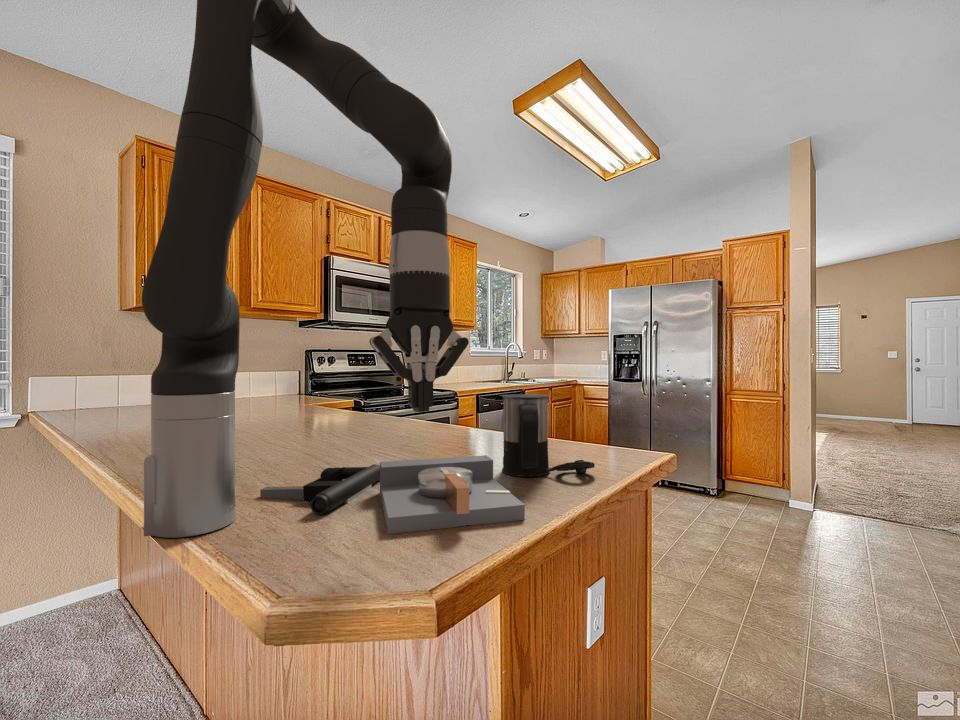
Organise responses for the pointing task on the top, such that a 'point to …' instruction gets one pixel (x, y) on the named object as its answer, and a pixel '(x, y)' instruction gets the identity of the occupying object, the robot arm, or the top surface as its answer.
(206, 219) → the robot arm
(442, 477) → the dial
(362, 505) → the top surface
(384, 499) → the panel
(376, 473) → the door handle
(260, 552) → the top surface
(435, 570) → the top surface
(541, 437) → the milk frother
